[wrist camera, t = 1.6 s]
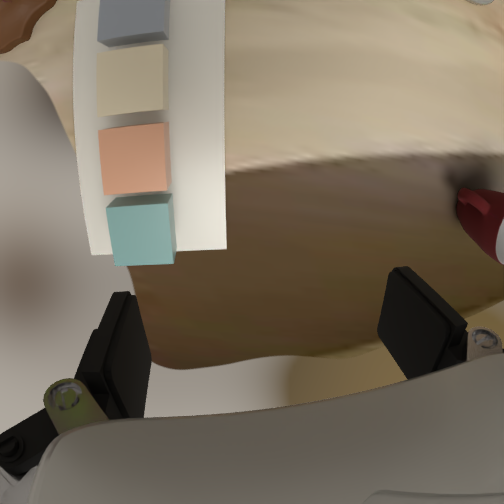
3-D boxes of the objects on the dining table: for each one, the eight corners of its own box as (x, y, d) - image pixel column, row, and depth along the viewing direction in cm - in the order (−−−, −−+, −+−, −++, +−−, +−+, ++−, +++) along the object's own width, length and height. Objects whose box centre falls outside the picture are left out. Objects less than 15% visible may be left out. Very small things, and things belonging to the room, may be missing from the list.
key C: (119, 125, 26) (98, 130, 20) (173, 120, 26) (163, 123, 21) (123, 178, 28) (103, 195, 22) (175, 174, 28) (167, 190, 23)
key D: (124, 188, 28) (105, 207, 23) (176, 185, 29) (167, 203, 23) (130, 238, 30) (115, 266, 25) (179, 235, 31) (173, 263, 26)
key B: (118, 62, 23) (96, 53, 18) (172, 56, 24) (163, 43, 18) (119, 115, 25) (97, 117, 20) (173, 109, 26) (163, 109, 20)
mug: (424, 216, 36) (474, 248, 27) (448, 159, 33) (504, 180, 24) (469, 240, 39) (514, 272, 30) (491, 191, 36) (540, 215, 27)
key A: (121, 5, 21) (101, -15, 15) (174, -2, 21) (166, -26, 16) (118, 53, 23) (97, 41, 17) (173, 46, 23) (163, 31, 18)
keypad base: (87, 9, 22) (77, 1, 19) (224, -8, 23) (225, -18, 21) (100, 243, 33) (91, 255, 30) (225, 237, 34) (226, 248, 32)
